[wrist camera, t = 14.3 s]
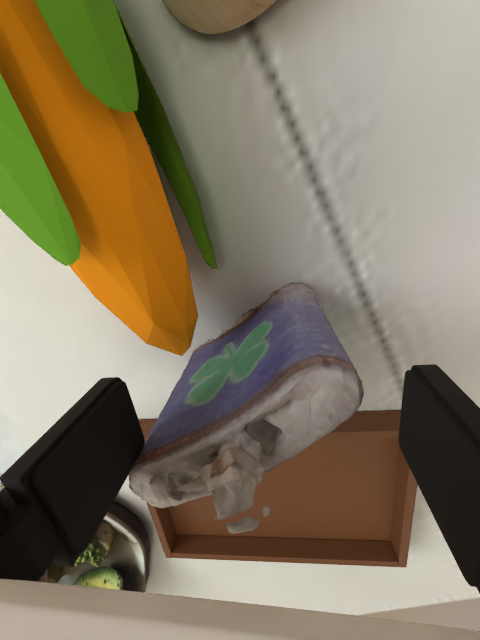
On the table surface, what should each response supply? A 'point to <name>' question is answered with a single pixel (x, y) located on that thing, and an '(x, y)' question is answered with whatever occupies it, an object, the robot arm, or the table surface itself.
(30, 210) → the corn
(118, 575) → the avocado toast plate
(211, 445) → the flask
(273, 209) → the table surface
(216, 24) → the ladybug figurine
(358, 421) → the tray
